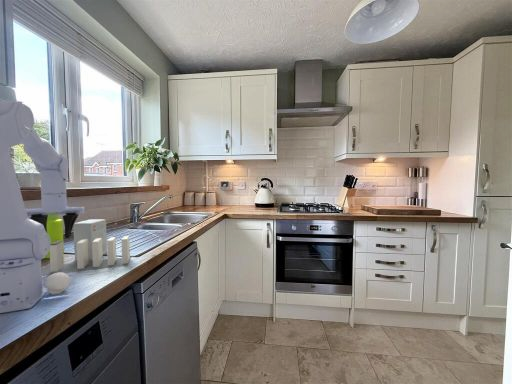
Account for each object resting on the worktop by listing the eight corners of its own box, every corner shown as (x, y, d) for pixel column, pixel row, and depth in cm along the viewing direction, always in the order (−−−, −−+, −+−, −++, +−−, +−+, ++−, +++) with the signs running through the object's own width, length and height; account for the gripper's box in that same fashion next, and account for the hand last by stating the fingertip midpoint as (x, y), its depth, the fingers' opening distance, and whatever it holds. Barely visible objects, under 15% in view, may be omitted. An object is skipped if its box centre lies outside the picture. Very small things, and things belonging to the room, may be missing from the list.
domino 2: (83, 268, 71) (82, 242, 71) (77, 269, 71) (76, 243, 70) (88, 263, 75) (87, 239, 75) (82, 263, 75) (81, 239, 74)
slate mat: (127, 266, 74) (127, 265, 74) (30, 278, 65) (30, 276, 65) (131, 257, 82) (131, 256, 82) (46, 267, 73) (46, 265, 73)
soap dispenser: (68, 252, 88) (65, 200, 87) (59, 258, 82) (56, 201, 81) (49, 253, 86) (46, 200, 85) (38, 260, 80) (35, 202, 79)
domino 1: (57, 271, 69) (56, 243, 68) (50, 272, 68) (49, 244, 68) (63, 265, 73) (62, 240, 73) (57, 266, 72) (56, 240, 72)
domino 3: (99, 266, 73) (98, 241, 72) (93, 267, 72) (92, 241, 72) (102, 261, 77) (101, 238, 76) (97, 262, 76) (96, 238, 76)
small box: (91, 253, 87) (89, 219, 86) (107, 253, 87) (106, 219, 86) (74, 260, 79) (72, 223, 78) (92, 260, 79) (90, 223, 78)
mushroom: (39, 294, 55) (39, 274, 55) (64, 286, 59) (64, 267, 59) (49, 300, 53) (49, 278, 53) (73, 291, 57) (74, 272, 57)
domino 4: (113, 264, 74) (112, 240, 74) (107, 265, 73) (107, 240, 73) (116, 260, 78) (115, 236, 78) (111, 260, 78) (110, 237, 77)
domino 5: (127, 263, 75) (127, 239, 75) (122, 263, 75) (121, 239, 74) (129, 258, 80) (129, 235, 79) (124, 259, 79) (123, 236, 79)
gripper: (87, 192, 76) (88, 233, 76) (30, 193, 71) (32, 237, 71) (79, 193, 69) (81, 238, 70) (16, 194, 64) (19, 243, 65)
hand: (56, 238), depth 70 cm, fingers open, 5 cm apart
